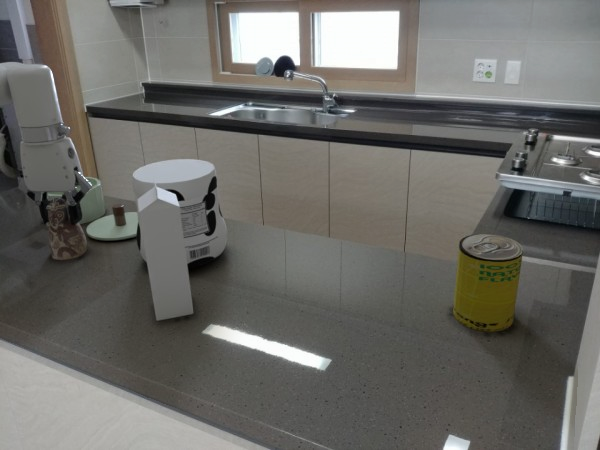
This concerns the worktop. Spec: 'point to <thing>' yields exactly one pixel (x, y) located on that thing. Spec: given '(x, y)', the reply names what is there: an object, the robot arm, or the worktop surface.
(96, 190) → the bowl
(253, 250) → the worktop surface
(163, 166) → the milk container
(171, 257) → the milk
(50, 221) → the figurine
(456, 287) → the beverage can
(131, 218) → the bowl lid
